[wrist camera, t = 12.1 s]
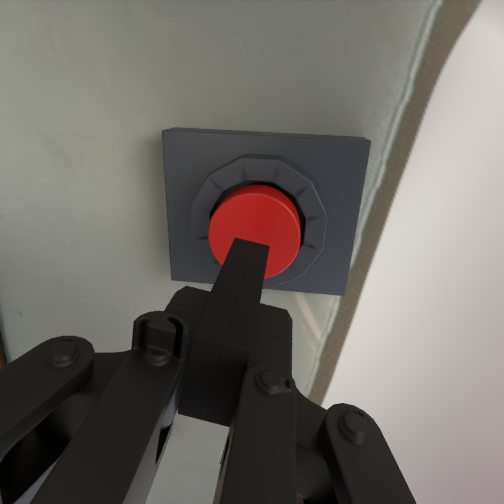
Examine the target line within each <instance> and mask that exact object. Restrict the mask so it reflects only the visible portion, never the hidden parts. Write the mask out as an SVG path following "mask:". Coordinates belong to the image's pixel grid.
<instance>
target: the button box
mask: <svg viewBox="0 0 504 504" xmlns="http://www.w3.org/2000/svg"><path fill="white" fill-rule="evenodd" d="M162 137H163V153H164V169H165V185H166V201H167V217H168V233H169V249H170V265H171V280H175V281H186V282H197V283H208V284H214V283H215V281H216V279H217V276H218V274H219V272H220V270H221V267H222V265H221V264H220V263H219V262H218V260H217V259H216V258H215V256H214V254H213V252H212V250H211V247H210V244H209V237H208V231H209V225H210V221H211V218H212V216H213V214H214V213H215V211H216V210H217V208H218V207H219V206H220V204H221V203H222V202H223V200H224V199H225V198H226V197H227V196H228V195H229V194H230V193H231V192H233V191H235V190H236V189H238V188H241V187H244V186H247V185H266V186H269V187H272V188H275V189H277V190H279V191H280V192H282V193H283V194H284V195H286V196H287V197H288V198H289V199H290V200H291V202H292V203H293V204H294V206H295V208H296V210H297V212H298V215H299V220H300V235H301V238H300V247H299V250H298V253H297V255H296V257H295V259H294V260H293V262H292V263H291V264H290V265H289V266H288V267H287V268H286V269H285V270H284V271H282V272H281V273H279V274H277V275H275V276H272V277H269V278H265V279H264V282H263V289H274V290H285V291H296V292H307V293H318V294H329V295H340V296H345V291H346V285H347V280H348V274H349V268H350V262H351V256H352V250H353V245H354V239H355V233H356V227H357V221H358V215H359V210H360V204H361V198H362V192H363V186H364V180H365V175H366V169H367V163H368V157H369V151H370V146H371V141H370V140H368V139H366V138H364V137H350V136H330V135H311V134H291V133H272V132H252V131H233V130H213V129H194V128H170V129H165V130H162Z"/></svg>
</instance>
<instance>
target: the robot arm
mask: <svg viewBox="0 0 504 504" xmlns="http://www.w3.org/2000/svg"><path fill="white" fill-rule="evenodd" d="M269 249H270V246H269V245H264V244H260V243H256V242H252V241H248V240H244V239H240V238H236V237H235V238H234V241H233V243H232V245H231V247H230V250H229V252H228V254H227V256H226V258H225V261H224V263H223V265H222V267H221V270H220V272H219V274H218V276H217V279H216V281H215V283H214V285H213V288H212V290H211V292H209V291H205V290H201V289H197V288H193V287H189V286H185V287H184V288H182V289H180V290H178V291H177V292H176V293H175V294H174V296H173V297H172V299H171V301H170V303H169V304H168V305H167V307H166V309H165V310H164V311H154V312H148V313H145V314H143V315H140V316H139V317H138V318H137V319H136V320H135V321H134V325H133V337H132V348H131V350H128V351H124V352H115V353H94V348H93V346H92V344H91V343H90V342H89V341H87V340H86V339H84V338H81V337H77V336H60V337H56V338H51V339H49V340H47V341H45V342H43V343H41V344H39V345H37V346H36V347H34V348H33V349H31V350H30V351H28V352H27V353H25V354H24V355H22V356H20V357H19V358H17V359H16V360H14V361H13V362H11V363H10V364H8V365H7V366H5V367H3V368H2V369H0V504H145V502H146V499H147V496H148V494H149V491H150V488H151V486H152V483H153V480H154V478H155V475H156V472H157V469H158V467H159V464H160V461H161V459H162V456H163V453H164V451H165V448H166V445H167V443H168V440H169V437H170V435H171V432H172V426H173V420H174V417H175V414H176V412H177V409H178V413H177V414H181V415H185V416H189V417H193V418H196V419H200V420H204V421H208V422H212V423H216V424H220V425H224V426H228V427H230V428H229V433H228V437H227V440H226V444H225V448H224V451H223V455H222V458H221V462H220V464H221V467H220V472H219V477H218V481H217V486H216V491H215V496H214V501H213V504H416V501H415V499H414V497H413V495H412V494H411V491H410V489H409V487H408V485H407V483H406V481H405V479H404V477H403V475H402V473H401V471H400V469H399V467H398V465H397V463H396V461H395V459H394V457H393V455H392V453H391V450H390V448H389V446H388V445H387V442H386V440H385V438H384V436H383V435H382V432H381V430H380V428H379V427H378V425H377V424H376V423H375V421H374V420H373V419H372V418H371V417H370V416H369V415H368V414H367V413H366V412H365V411H363V410H361V409H359V408H357V407H356V406H353V405H349V404H345V403H341V404H334V405H333V406H331V407H330V408H329V409H328V410H326V409H324V408H322V407H321V406H319V405H317V404H315V403H313V402H312V401H310V400H309V399H307V398H306V397H305V396H303V395H302V394H301V393H300V392H299V390H298V389H297V388H296V385H295V381H294V380H293V378H292V374H291V373H292V318H291V317H290V315H289V313H288V311H287V310H285V309H281V308H277V307H273V306H269V305H265V304H262V303H260V299H261V293H262V288H263V282H264V277H265V271H266V266H267V260H268V254H269ZM178 406H179V407H178Z"/></svg>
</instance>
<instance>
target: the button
mask: <svg viewBox="0 0 504 504" xmlns="http://www.w3.org/2000/svg"><path fill="white" fill-rule="evenodd" d="M208 237H209V244H210V247H211V250H212V252H213V254H214V256H215V258H216V259H217V260H218V262H219V263H220V264H221V265H223V263H224V261H225V258H226V256H227V254H228V252H229V250H230V247H231V245H232V243H233V241H234V238H235V237H236V238H240V239H244V240H248V241H252V242H256V243H260V244H264V245H269V246H270V249H269V254H268V260H267V266H266V271H265V277H264V279H265V278H269V277H272V276H275V275H277V274H279V273H281V272H282V271H284V270H285V269H286V268H287V267H288V266H289V265H290V264H291V263H292V262H293V260H294V259H295V257H296V255H297V253H298V250H299V247H300V238H301V235H300V220H299V215H298V212H297V210H296V208H295V206H294V204H293V203H292V202H291V200H290V199H289V198H288V197H287V196H286V195H284V194H283V193H282V192H280V191H279V190H277V189H275V188H272V187H269V186H266V185H247V186H244V187H241V188H238V189H236V190H235V191H233V192H231V193H230V194H229V195H228V196H227V197H226V198H225V199H224V200H223V202H222V203H221V204H220V206H219V207H218V208H217V210H216V211H215V213H214V214H213V216H212V218H211V221H210V225H209V231H208Z"/></svg>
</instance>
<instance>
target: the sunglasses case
mask: <svg viewBox="0 0 504 504" xmlns="http://www.w3.org/2000/svg"><path fill="white" fill-rule="evenodd" d="M7 365H8V364H7V361H6V357H5V352H4V347H3V342H2V337H1V333H0V369H2V368H3V367H5V366H7Z"/></svg>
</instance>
